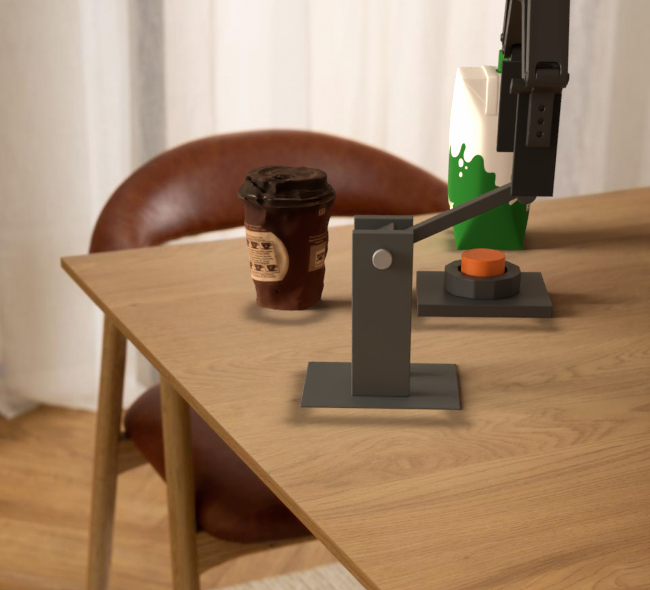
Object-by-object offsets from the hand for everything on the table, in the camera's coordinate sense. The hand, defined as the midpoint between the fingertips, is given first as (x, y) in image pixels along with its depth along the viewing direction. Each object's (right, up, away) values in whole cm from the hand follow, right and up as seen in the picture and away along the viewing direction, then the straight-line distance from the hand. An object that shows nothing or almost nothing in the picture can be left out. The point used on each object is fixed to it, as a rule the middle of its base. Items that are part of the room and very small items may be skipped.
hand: (522, 172), depth 84 cm
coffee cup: (-18, -6, +27) cm, 33 cm away
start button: (+1, -3, +25) cm, 25 cm away
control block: (+1, -6, +27) cm, 27 cm away
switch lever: (-5, -4, +2) cm, 6 cm away
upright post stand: (-10, -15, +9) cm, 20 cm away
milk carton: (+4, +5, +47) cm, 48 cm away
